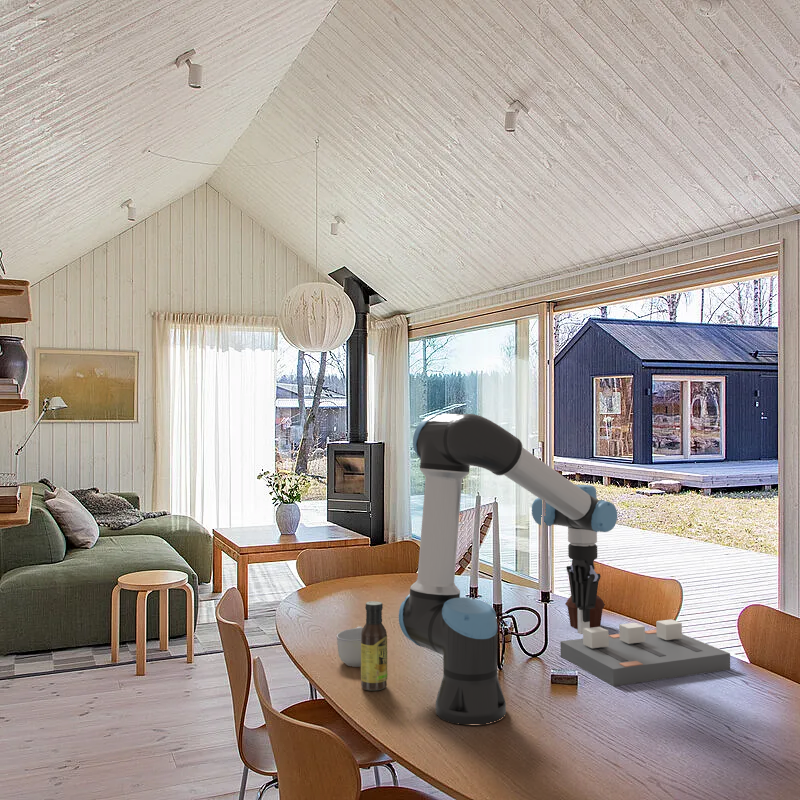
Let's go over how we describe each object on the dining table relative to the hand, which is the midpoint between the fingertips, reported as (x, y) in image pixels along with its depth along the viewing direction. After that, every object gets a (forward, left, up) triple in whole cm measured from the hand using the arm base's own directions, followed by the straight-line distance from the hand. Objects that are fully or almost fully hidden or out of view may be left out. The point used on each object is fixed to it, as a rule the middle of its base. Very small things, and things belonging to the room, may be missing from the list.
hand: (583, 632), depth 208 cm
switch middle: (-6, -11, -2) cm, 13 cm away
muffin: (+25, -16, -6) cm, 30 cm away
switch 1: (-6, 0, -2) cm, 6 cm away
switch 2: (-6, -22, -2) cm, 23 cm away
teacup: (+17, +57, -6) cm, 60 cm away
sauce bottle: (-3, +59, -6) cm, 59 cm away
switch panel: (-10, -11, -6) cm, 16 cm away
